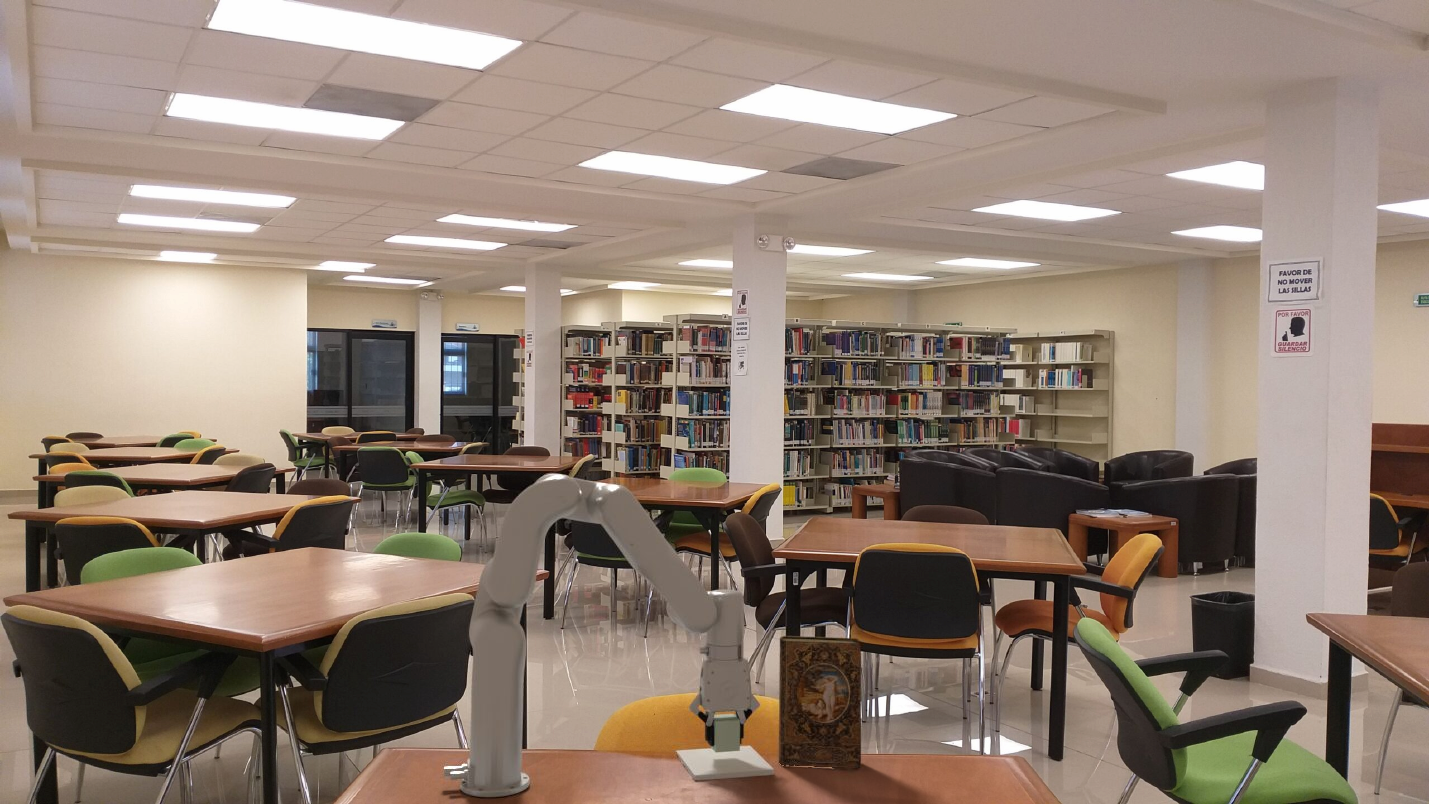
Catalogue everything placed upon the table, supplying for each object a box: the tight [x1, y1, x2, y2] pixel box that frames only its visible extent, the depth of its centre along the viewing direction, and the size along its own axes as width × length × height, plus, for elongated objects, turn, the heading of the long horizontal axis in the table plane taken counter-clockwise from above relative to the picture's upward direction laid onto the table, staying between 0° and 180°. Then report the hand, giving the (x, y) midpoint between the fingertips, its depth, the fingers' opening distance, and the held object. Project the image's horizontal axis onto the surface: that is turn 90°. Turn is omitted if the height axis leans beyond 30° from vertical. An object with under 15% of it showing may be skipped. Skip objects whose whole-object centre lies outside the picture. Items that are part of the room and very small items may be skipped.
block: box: [708, 713, 741, 753], centre depth 195 cm, size 5×5×6 cm
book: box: [778, 635, 862, 771], centre depth 196 cm, size 16×6×25 cm, turn 84°
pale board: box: [675, 745, 775, 781], centre depth 195 cm, size 16×16×1 cm
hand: (724, 742), depth 195 cm, fingers closed on block, 5 cm apart
